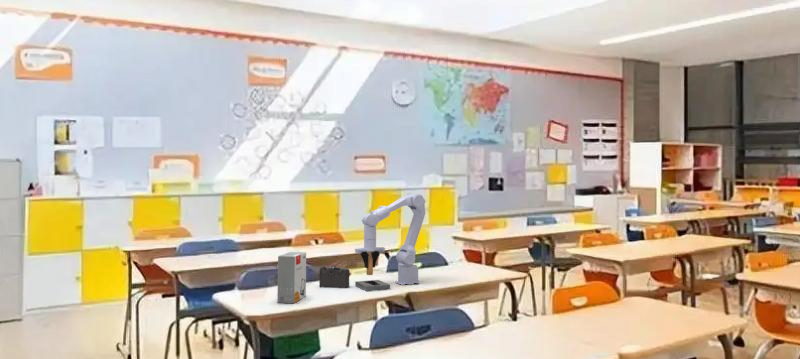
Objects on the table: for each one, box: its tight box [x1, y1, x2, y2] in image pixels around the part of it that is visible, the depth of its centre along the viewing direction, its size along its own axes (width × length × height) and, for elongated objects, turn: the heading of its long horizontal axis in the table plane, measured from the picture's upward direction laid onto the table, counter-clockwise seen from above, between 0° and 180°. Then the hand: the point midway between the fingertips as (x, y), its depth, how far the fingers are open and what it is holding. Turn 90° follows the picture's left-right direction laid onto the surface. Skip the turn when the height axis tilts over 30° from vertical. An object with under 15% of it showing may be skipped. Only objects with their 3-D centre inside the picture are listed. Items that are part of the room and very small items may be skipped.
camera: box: [318, 265, 351, 289], centre depth 328 cm, size 14×11×10 cm
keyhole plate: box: [354, 279, 391, 292], centre depth 324 cm, size 12×14×2 cm
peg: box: [366, 256, 374, 276], centre depth 327 cm, size 3×3×8 cm
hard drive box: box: [276, 251, 307, 304], centre depth 296 cm, size 16×8×20 cm, turn 168°
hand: (369, 267), depth 327 cm, fingers closed on peg, 3 cm apart
